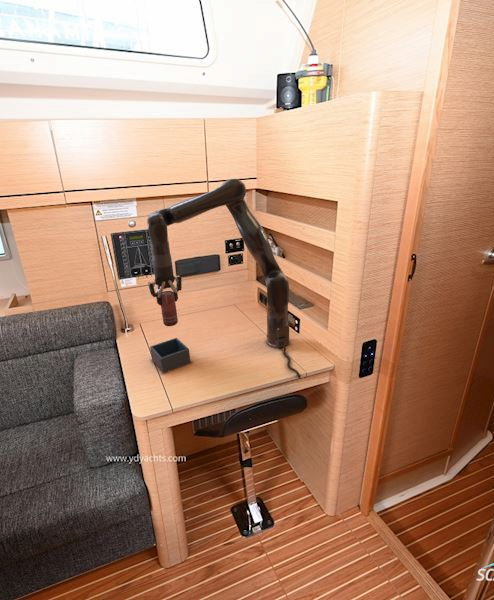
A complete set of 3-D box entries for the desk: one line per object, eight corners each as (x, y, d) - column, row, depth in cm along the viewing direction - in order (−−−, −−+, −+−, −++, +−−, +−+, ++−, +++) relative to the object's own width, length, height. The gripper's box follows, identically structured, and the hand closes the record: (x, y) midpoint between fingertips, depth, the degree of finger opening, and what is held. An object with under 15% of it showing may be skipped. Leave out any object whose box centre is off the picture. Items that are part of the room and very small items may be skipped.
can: (164, 328, 139) (159, 296, 134) (163, 321, 145) (158, 291, 139) (178, 325, 140) (174, 294, 135) (177, 319, 146) (173, 289, 141)
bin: (190, 362, 142) (189, 348, 140) (163, 373, 136) (160, 359, 134) (178, 350, 152) (176, 337, 150) (152, 360, 146) (149, 346, 144)
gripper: (148, 269, 126) (154, 310, 132) (183, 262, 133) (187, 301, 139) (142, 265, 132) (148, 304, 138) (175, 258, 139) (180, 296, 145)
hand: (168, 302), depth 139 cm, fingers closed on can, 6 cm apart
